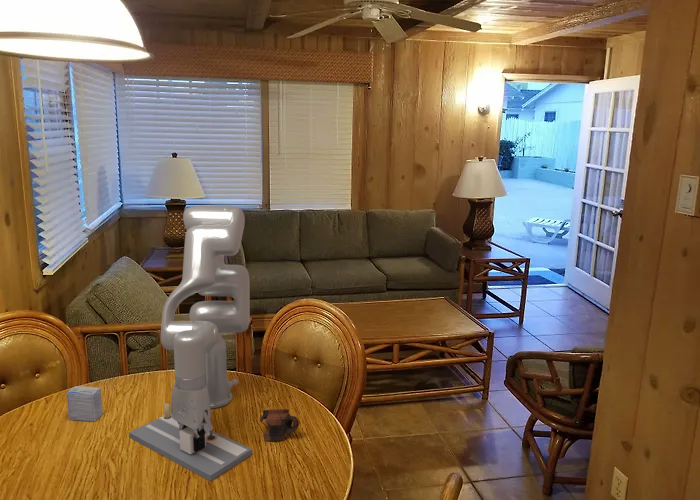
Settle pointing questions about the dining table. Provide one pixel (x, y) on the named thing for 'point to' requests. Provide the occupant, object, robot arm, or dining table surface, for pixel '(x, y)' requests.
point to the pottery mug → (279, 424)
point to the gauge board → (203, 462)
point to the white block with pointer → (189, 439)
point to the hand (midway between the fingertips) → (193, 445)
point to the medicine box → (84, 403)
